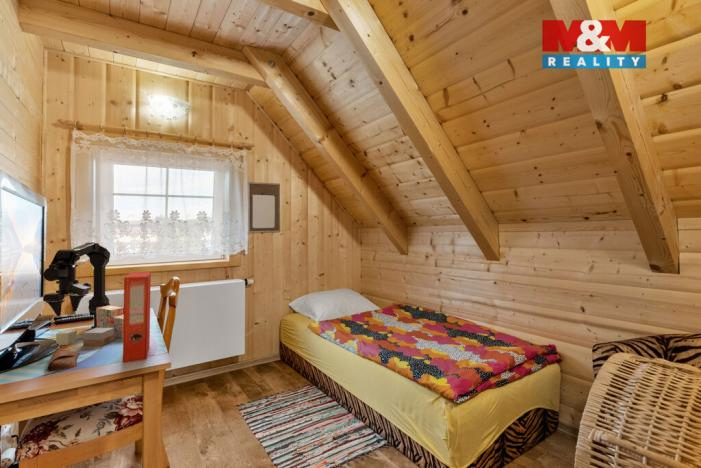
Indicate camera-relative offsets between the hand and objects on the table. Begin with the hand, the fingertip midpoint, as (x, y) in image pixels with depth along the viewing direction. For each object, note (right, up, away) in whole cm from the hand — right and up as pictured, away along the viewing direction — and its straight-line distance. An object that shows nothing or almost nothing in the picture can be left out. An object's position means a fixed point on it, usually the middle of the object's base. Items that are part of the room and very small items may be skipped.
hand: (67, 313), depth 153 cm
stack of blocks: (+12, -13, +14) cm, 23 cm away
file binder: (+39, -14, -13) cm, 43 cm away
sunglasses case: (+17, -14, -22) cm, 31 cm away
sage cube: (0, -13, 0) cm, 13 cm away
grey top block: (+14, -11, +1) cm, 17 cm away
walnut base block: (+14, -14, 0) cm, 19 cm away
